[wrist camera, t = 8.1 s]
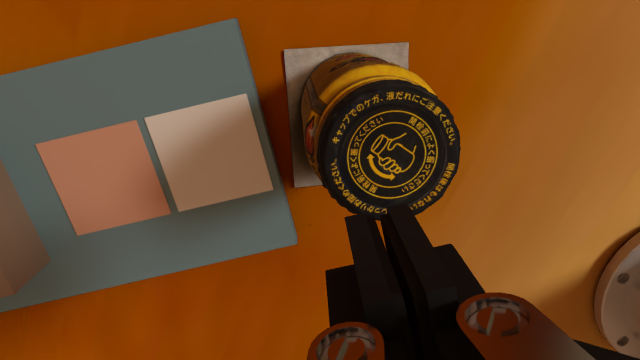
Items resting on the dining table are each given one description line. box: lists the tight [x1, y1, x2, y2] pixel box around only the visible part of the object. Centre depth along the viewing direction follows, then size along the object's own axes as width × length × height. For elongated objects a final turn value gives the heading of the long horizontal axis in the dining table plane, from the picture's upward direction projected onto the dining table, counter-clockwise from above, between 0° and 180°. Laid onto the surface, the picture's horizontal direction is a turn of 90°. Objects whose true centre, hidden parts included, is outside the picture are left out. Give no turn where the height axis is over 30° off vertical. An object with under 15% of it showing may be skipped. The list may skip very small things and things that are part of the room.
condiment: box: [284, 42, 461, 221], centre depth 21 cm, size 7×8×12 cm
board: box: [0, 18, 297, 313], centre depth 25 cm, size 14×24×5 cm, turn 103°
